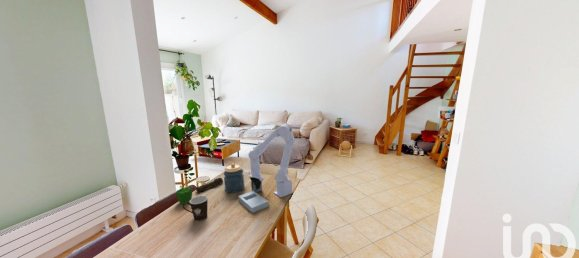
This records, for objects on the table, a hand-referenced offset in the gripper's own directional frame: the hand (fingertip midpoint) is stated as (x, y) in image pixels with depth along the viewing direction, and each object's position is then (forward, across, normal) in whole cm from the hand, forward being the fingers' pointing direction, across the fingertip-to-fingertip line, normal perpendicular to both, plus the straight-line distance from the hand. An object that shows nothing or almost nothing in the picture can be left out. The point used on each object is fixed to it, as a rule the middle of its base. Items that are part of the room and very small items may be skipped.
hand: (256, 187), depth 136 cm
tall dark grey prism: (+2, 0, 0) cm, 2 cm away
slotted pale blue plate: (+2, +11, -9) cm, 15 cm away
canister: (+3, -14, -9) cm, 17 cm away
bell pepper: (+3, -17, -39) cm, 43 cm away
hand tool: (+3, -28, -21) cm, 35 cm away
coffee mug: (+3, +4, -37) cm, 38 cm away
